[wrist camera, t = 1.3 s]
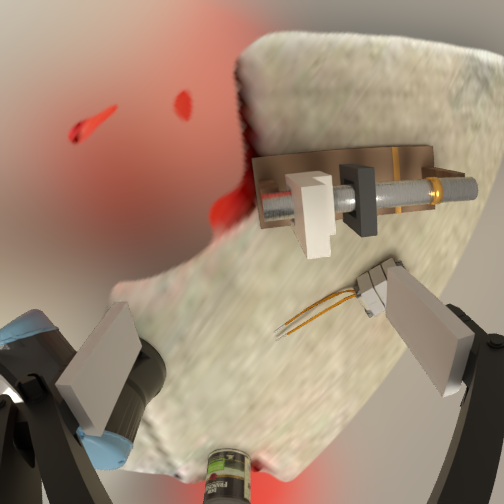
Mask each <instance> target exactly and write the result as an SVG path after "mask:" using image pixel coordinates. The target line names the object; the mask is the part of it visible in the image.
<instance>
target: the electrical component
mask: <svg viewBox="0 0 504 504" xmlns="http://www.w3.org/2000/svg"><path fill="white" fill-rule="evenodd" d="M381 265H382V267H383V269H382V268H381V266H380V265H378V266H376V267H375V268H373V269H371V270H369V273H370V275H369V273H368V272H366V273H364V274H362V275H361V276H359V277H358V278H357V281H358V284H357V286H355V287H354V289H355V290H346V291H342V292H338V293H335V294H332V295H330V296H328V297H326V298H325V299H323V300H321V301H319V302H317V303H316V304H314V305H312V306H310V307H308V308H306V309H305V310H304V311H302V312H301V313H299V314H298V315H296V316H295V317H294V318H292V319H291V320H289V321H288V322H286V323H285V324H284V325H283V326H281V327H280V328H279V329H277V330H276V331H274V333H275V332H277V331H278V330H280V329H281V328H282V327H284V326H285V325H287V324H289V323H290V322H291V321H293V320H294V319H295V318H297V317H298V316H300V314H302V313H304V312H305V311H307V310H309V309H311V308H313V307H314V306H316V305H318V304H320V303H322V302H324V301H326V300H328V299H330V298H333V297H335V296H337V295H339V294H341V293H344V292H352V293H354V294H353V295H351V296H348V297H346V298H344V299H342V300H341V301H339V302H337V303H336V304H334V305H332V306H331V307H329V308H327V309H326V310H324V311H322V312H320V313H319V314H317V315H315V316H314V317H312V318H311V319H309V320H308V321H306V322H304V323H303V324H301V325H299V326H298V327H296V328H295V329H293V330H291V331H290V332H288V333H286V334H285V335H283V336H282V337H280V338H279V339H277V340H276V341H278V340H280V339H282V338H283V337H285V336H287V335H289V334H290V333H292V332H294V331H295V330H297V329H299V328H300V327H302V326H304V325H305V324H307V323H309V322H310V321H312V320H313V319H315V318H317V317H318V316H320V315H321V314H323V313H325V312H326V311H328V310H330V309H332V308H333V307H335V306H337V305H339V304H341V303H342V302H344V301H346V300H348V299H350V298H352V297H356V298H357V299H358V301H359V302H360V303H361V304H362V306H363V307H364V308H365V312H366V313H367V315H368V316H369V318H371V317H372V316H373V315H374V316H377V315H378V314H380V313H382V312H384V311H386V308H385V306H386V298H387V268H389V267H395V266H402V267H403V268H404V269H405V270H406V268H405V267H404V266H403V264H402V261H398V262H394V260H393V258H390V259H388V260H387V261H385V262H383V263H381Z"/></svg>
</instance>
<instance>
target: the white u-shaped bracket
mask: <svg viewBox="0 0 504 504" xmlns="http://www.w3.org/2000/svg"><path fill="white" fill-rule="evenodd" d="M285 180H286V189H287V191H290V190H291V191H292V200H293V209H294V218H292V219H290V225H291V227H292V229H293V231H294V233H295V235H296V237H297V239H298V241H299V243H300V245H301V247H302V249H303V251H304V253H305V255H306V257H307V259H314V258H321V257H329V256H331V248H330V235H334V234H336V226H335V211H334V198H333V186H332V175H329V174H326V173H324V172H321V171H312V172H302V173H293V174H285Z"/></svg>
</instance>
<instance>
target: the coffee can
mask: <svg viewBox="0 0 504 504" xmlns="http://www.w3.org/2000/svg"><path fill="white" fill-rule="evenodd" d="M250 462H251V459H250V457H249V456H248V455H247V454H246V453H244V452H242V451H239V450H234V449H220V450H216V451H214V452H212V453H211V454H210V455H209V457H208V468H207V476H206V485H205V494H204V501H203V504H250Z"/></svg>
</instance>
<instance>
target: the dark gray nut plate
mask: <svg viewBox="0 0 504 504" xmlns="http://www.w3.org/2000/svg"><path fill="white" fill-rule="evenodd" d="M339 172H340V183H341V185H348V184H354V187H355V202H356V211H352V212H343V222H344V223H346V224H347V225H348V226H349V227H350V228H351V229H353V230H354V231H355V232H356V233H357V234H358V235H359V236H361V237H368V236H376V235H377V205H376V186H375V171H374V167H369V166H364V165H359V164H354V163H351V164H339Z"/></svg>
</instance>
